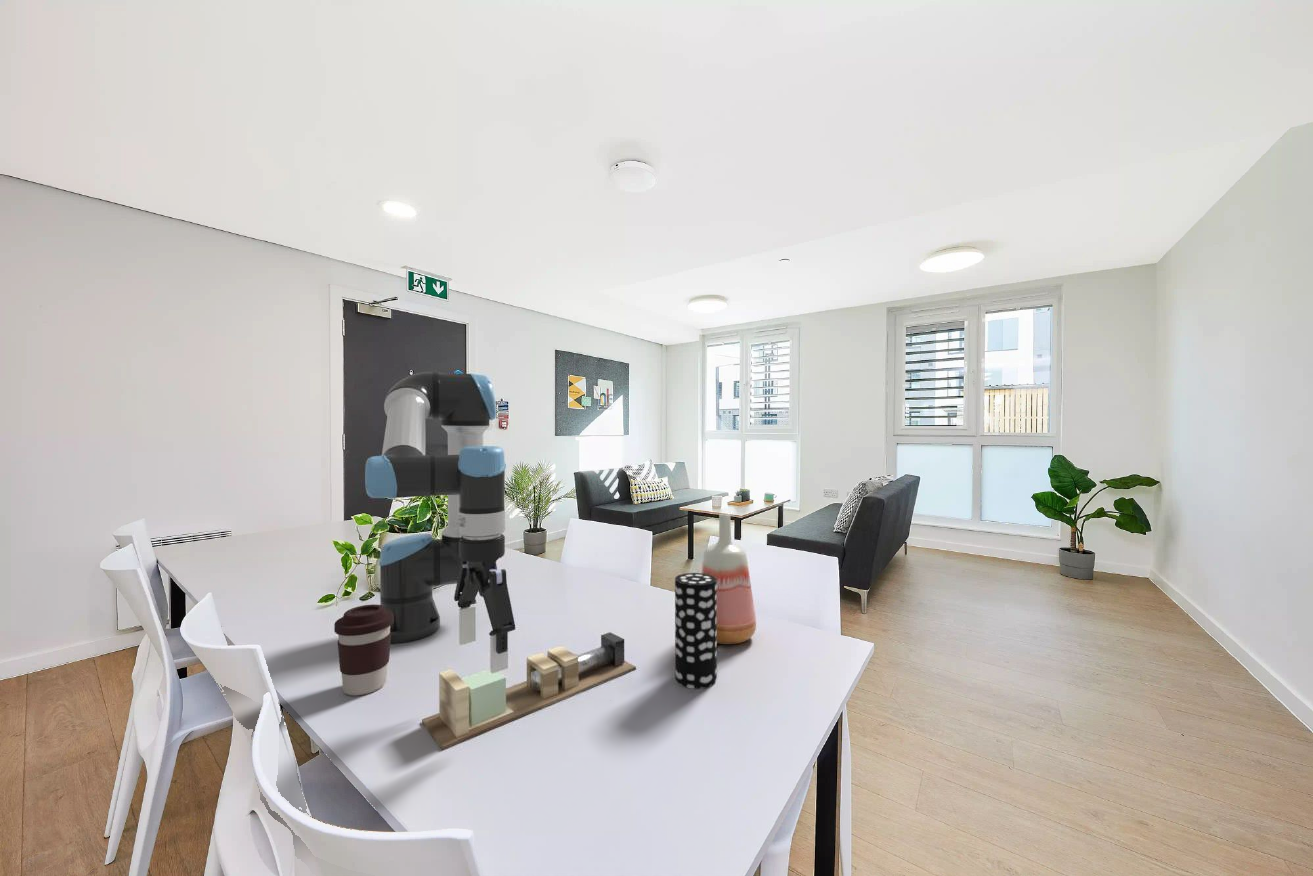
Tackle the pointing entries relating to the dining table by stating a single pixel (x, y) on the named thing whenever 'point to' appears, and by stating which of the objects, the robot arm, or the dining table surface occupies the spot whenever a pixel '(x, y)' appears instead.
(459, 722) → the jig
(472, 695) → the block
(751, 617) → the vase
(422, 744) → the dining table surface
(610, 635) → the shaft
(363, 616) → the coffee cup
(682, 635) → the spotted tube
